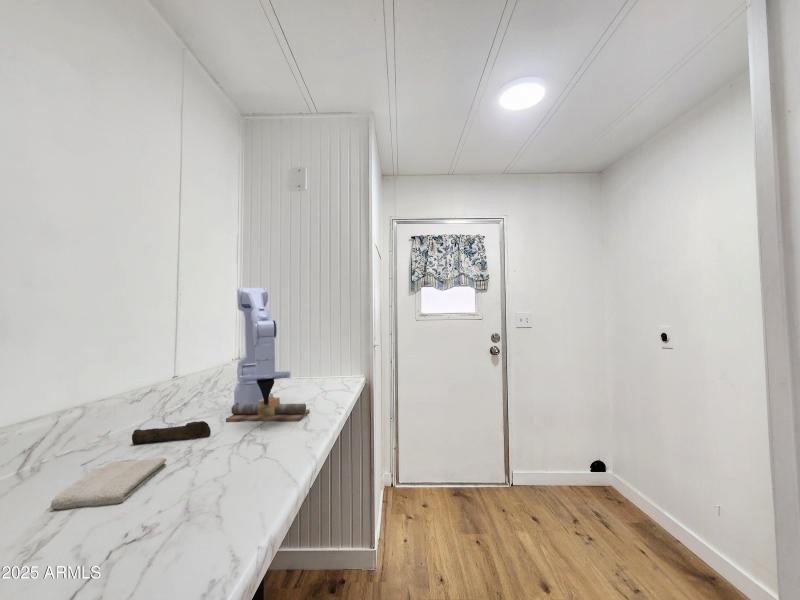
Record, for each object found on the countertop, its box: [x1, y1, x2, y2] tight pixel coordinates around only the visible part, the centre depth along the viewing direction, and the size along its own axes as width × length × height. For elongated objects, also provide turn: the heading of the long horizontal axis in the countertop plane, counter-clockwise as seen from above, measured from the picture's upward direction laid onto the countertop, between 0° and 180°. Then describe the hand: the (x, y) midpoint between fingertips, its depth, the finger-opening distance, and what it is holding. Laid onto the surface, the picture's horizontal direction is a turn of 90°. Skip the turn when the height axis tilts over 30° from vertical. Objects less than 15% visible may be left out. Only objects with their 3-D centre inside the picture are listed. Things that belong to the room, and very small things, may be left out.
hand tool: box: [131, 420, 212, 446], centre depth 100 cm, size 19×4×5 cm, turn 100°
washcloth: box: [50, 457, 167, 510], centre depth 74 cm, size 12×18×3 cm, turn 9°
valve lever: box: [268, 393, 276, 407], centre depth 116 cm, size 13×3×2 cm, turn 25°
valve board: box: [225, 396, 311, 423], centre depth 120 cm, size 24×10×6 cm, turn 86°
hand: (265, 404), depth 112 cm, fingers closed
